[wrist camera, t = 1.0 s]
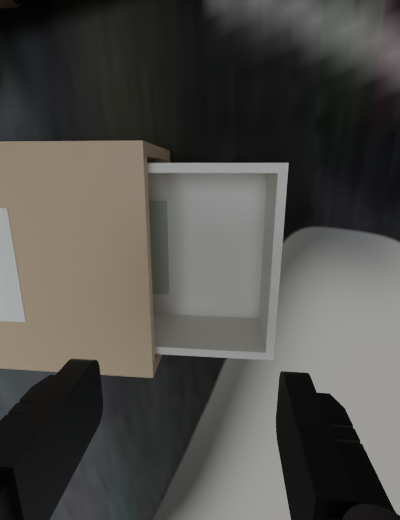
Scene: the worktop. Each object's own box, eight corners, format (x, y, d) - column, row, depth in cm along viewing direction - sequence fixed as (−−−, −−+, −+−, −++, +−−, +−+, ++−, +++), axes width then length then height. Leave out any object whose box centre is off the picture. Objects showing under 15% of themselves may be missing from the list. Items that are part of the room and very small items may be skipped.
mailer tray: (44, 165, 26) (-10, 163, 20) (274, 165, 25) (288, 162, 19) (62, 312, 30) (22, 346, 24) (264, 321, 28) (273, 360, 22)
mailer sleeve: (-50, 151, 28) (-167, 142, 20) (169, 150, 26) (142, 140, 18) (-17, 314, 32) (-102, 362, 24) (173, 323, 30) (152, 378, 22)
